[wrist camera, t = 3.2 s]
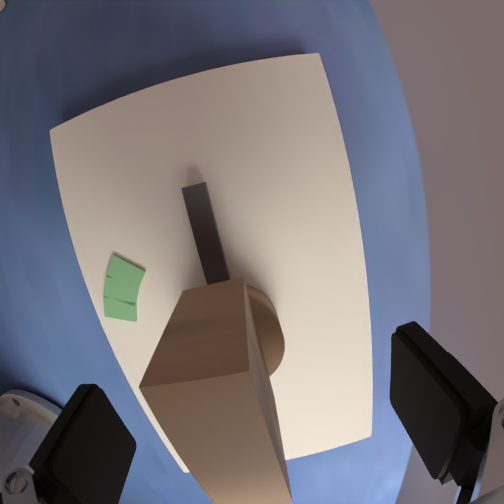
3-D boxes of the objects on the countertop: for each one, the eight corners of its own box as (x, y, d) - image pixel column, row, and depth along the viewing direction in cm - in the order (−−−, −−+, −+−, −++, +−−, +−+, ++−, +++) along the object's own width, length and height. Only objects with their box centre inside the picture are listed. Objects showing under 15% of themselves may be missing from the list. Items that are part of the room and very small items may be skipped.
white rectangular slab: (365, 423, 19) (372, 437, 17) (186, 458, 19) (184, 474, 17) (311, 63, 13) (319, 51, 11) (63, 133, 13) (47, 129, 12)
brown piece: (288, 364, 15) (323, 495, 7) (207, 380, 15) (192, 512, 7) (244, 172, 13) (256, 155, 5) (148, 198, 13) (34, 225, 5)
